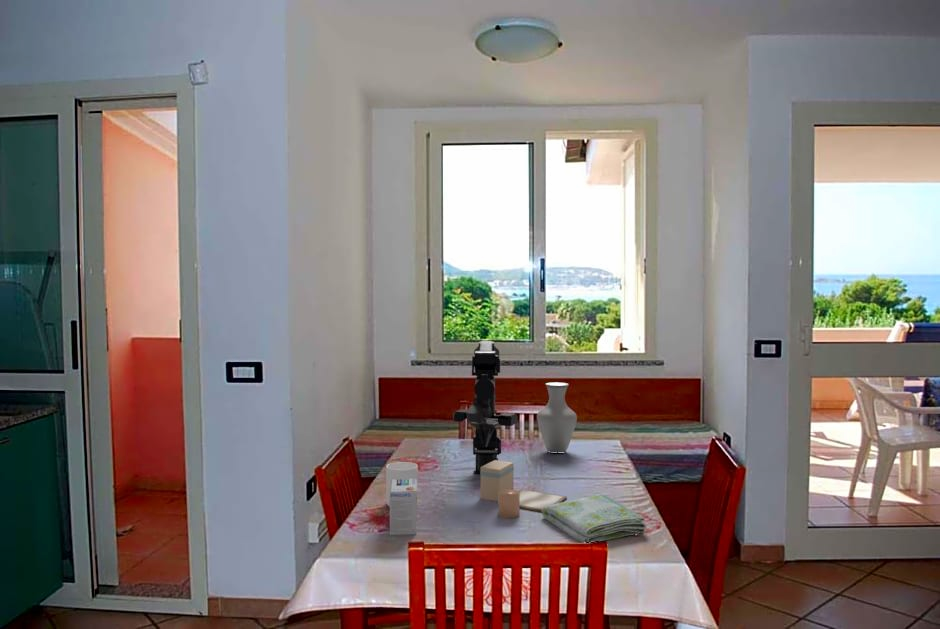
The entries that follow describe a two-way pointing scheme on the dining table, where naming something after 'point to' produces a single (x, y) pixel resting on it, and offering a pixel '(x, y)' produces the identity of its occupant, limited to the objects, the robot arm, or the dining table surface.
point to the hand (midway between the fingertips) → (485, 446)
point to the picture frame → (538, 500)
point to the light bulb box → (403, 507)
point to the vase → (556, 419)
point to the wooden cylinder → (509, 503)
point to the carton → (496, 478)
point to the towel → (594, 518)
